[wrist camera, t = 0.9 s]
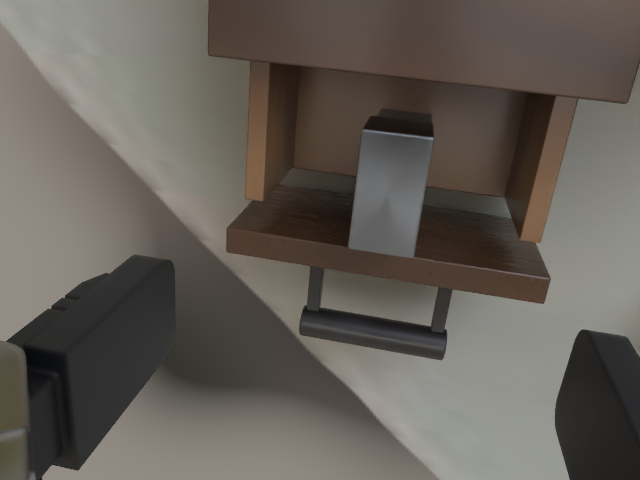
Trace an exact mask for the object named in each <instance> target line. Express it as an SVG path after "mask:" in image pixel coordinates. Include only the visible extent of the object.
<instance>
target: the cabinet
mask: <svg viewBox="0 0 640 480" xmlns="http://www.w3.org/2000/svg"><path fill="white" fill-rule="evenodd" d="M208 55H209V56H214V57H223V58H231V59H240V60H249V61H257V62H266V63H275V64H283V65H292V66H301V67H309V68H318V69H327V70H335V71H344V72H353V73H361V74H370V75H379V76H387V77H396V78H405V79H413V80H422V81H431V82H439V83H448V84H457V85H465V86H474V87H483V88H491V89H500V90H509V91H517V92H526V93H535V94H543V95H552V96H561V97H569V98H578V99H587V100H595V101H604V102H613V103H621V104H626V103H628V101H629V97H630V94H631V91H632V87H633V84H634V81H635V77H636V74H637V70H638V67H639V64H640V0H209V14H208Z"/></svg>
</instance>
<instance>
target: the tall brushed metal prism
mask: <svg viewBox="0 0 640 480" xmlns="http://www.w3.org/2000/svg"><path fill="white" fill-rule="evenodd" d="M433 144H434V124H432V115H431V114H424V113H416V112H408V111H400V110H391V109H383V108H382V109H381V110H380V112H379V114H378V116H370V117H369V119H368V120H367V122H366V124H365V125H364V127H363V129H362V131H361V139H360V148H359V156H358V165H357V173H356V181H355V190H354V198H353V206H352V215H351V223H350V232H349V240H348V248H349V249H355V250H361V251H367V252H374V253H380V254H386V255H393V256H399V257H405V258H414V255H415V250H416V244H417V238H418V232H419V226H420V220H421V214H422V208H423V203H424V197H425V191H426V185H427V179H428V173H429V167H430V162H431V156H432V150H433Z"/></svg>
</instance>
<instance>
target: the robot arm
mask: <svg viewBox="0 0 640 480" xmlns="http://www.w3.org/2000/svg"><path fill="white" fill-rule="evenodd" d="M175 325H176V323H175V270H174V265H173V263H172V262H171V261H170V260H166V259H160V258H154V257H148V256H142V255H133V256H131V257H130V258H129V259H127V260H126V261H125V262H124V263H123V264H122V265H120V266H119V267H118V268H116V269H115V270H114V271H113V272H112V273H110V274H108V273H105V274H102V275H100V276H97V277H95V278H92V279H90V280H87V281H85V282H82V283H81V284H79V285H78V286H77V287H76V288H74V289H73V290H72V291H70V292H69V293H68V294H67V295H65V298H61V299H60V300H59V301H57V302H56V303H55V304H54V305H52V308H51V309H47V310H46V311H44V312H43V313H42V314H41V315H39V316H38V317H37V318H35V319H34V320H33V321H32V322H30V323H29V324H28V325H26V326H25V327H24V328H22V329H21V330H20V331H19V332H17V333H16V334H15V335H13V336H12V337H11V338H10V339H8V340H7V341H6V342H4V341H0V480H42V476H43V475H44V473H45V472H46V471H47V470H48V469H49V467H50V466H51V465H56V466H60V467H64V468H69V469H74V470H79V469H80V467H81V466H82V465H83V464H84V462H85V461H86V460H87V458H88V457H89V456H90V455H91V453H92V452H93V451H94V449H95V448H96V447H97V446H98V444H99V443H100V442H101V440H102V439H103V438H104V436H105V435H106V434H107V433H108V431H109V430H110V429H111V427H112V426H113V425H114V424H115V422H116V421H117V420H118V419H119V417H120V416H121V415H122V413H123V412H124V411H125V410H126V408H127V407H128V406H129V404H130V403H131V402H132V400H133V399H134V398H135V397H136V395H137V394H138V393H139V391H140V390H141V389H142V388H143V386H144V385H145V383H146V382H147V381H148V380H149V379H150V377H151V376H152V375H153V373H154V372H155V371H156V369H157V368H158V367H159V366H160V364H161V363H162V362H163V360H164V359H165V358H166V356H167V355H168V353H169V351H170V349H171V346H172V344H173V340H174V335H175ZM555 427H556V432H557V436H558V439H559V443H560V446H561V450H562V453H563V457H564V460H565V464H566V467H567V471H568V474H569V478H570V480H640V358H639V356H638V354H637V353H636V351H635V349H634V348H633V346H632V344H631V343H630V341H629V339H628V338H627V337H625V336H620V335H614V334H608V333H602V332H596V331H590V330H581V331H580V332H579V333H578V335H577V337H576V339H575V342H574V345H573V348H572V352H571V355H570V358H569V361H568V365H567V368H566V371H565V374H564V378H563V381H562V384H561V387H560V391H559V394H558V397H557V402H556V408H555Z"/></svg>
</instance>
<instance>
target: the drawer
mask: <svg viewBox="0 0 640 480" xmlns="http://www.w3.org/2000/svg"><path fill="white" fill-rule="evenodd" d="M577 102H578V98H569V97H561V96H552V95H543V94H535V93H526V92H517V91H509V90H500V89H491V88H483V87H474V86H465V85H457V84H448V83H439V82H431V81H422V80H413V79H405V78H396V77H387V76H379V75H370V74H361V73H353V72H344V71H335V70H327V69H318V68H309V67H301V66H292V65H283V64H275V63H266V62H257V61H251V64H250V89H249V114H248V138H247V163H246V188H245V199H249V200H253V201H252V202H251V203H250V204H249V205H248V206H247V207H246V208H245V209H244V210H243V211H242V212H241V213H240V214H239V216H238V217H237V218H236V219H235V220H234V221H233V222H232V223H231V224H230V225H229V226H228V227H227V242H226V251H227V252H228V253H234V254H240V255H247V256H253V257H259V258H265V259H271V260H277V261H283V262H289V263H296V264H302V265H308V266H311V267H310V278H309V289H308V300H307V305H305V306H304V308H303V311H302V314H301V319H300V327H299V332H300V335H303V336H309V337H314V338H320V339H325V340H331V341H337V342H342V343H348V344H353V345H359V346H364V347H370V348H375V349H381V350H386V351H392V352H397V353H403V354H409V355H414V356H420V357H425V358H431V359H436V360H443V358H444V355H445V350H446V344H447V330H446V329H444V328H445V323H446V318H447V313H448V308H449V304H450V299H451V294H452V289H455V290H461V291H467V292H473V293H479V294H485V295H492V296H498V297H504V298H510V299H516V300H522V301H528V302H534V303H541V304H543V303H544V302H545V298H546V295H547V291H548V288H549V284H550V280H551V278H550V276H549V273H548V271H547V269H546V266H545V264H544V262H543V259H542V257H541V254H540V252H539V250H538V247H537V245H536V243H540V242H541V239H542V235H543V231H544V227H545V223H546V220H547V216H548V212H549V208H550V204H551V201H552V197H553V193H554V189H555V185H556V182H557V178H558V174H559V170H560V166H561V163H562V159H563V155H564V151H565V147H566V144H567V140H568V136H569V132H570V128H571V125H572V121H573V117H574V113H575V109H576V106H577ZM382 108H383V109H391V110H400V111H408V112H416V113H424V114H431V115H432V124H434V144H433V150H432V156H431V162H430V167H429V173H428V179H427V185H426V187H433V188H440V189H447V190H454V191H462V192H469V193H476V194H483V195H490V196H497V197H504V198H505V200H506V203H507V206H508V209H509V211H510V214H511V217H512V218H506V217H499V216H493V215H486V214H479V213H472V212H465V211H458V210H451V209H444V208H437V207H430V206H423V208H422V214H421V220H420V226H419V232H418V238H417V244H416V250H415V255H414V258H405V257H399V256H393V255H386V254H380V253H374V252H367V251H361V250H355V249H349V248H348V240H349V232H350V223H351V215H352V206H353V198H354V195H347V194H341V193H334V192H327V191H320V190H313V189H306V188H299V187H292V186H285V185H278V184H279V183H280V182H281V181H282V179H283V178H284V177H285V176H286V175H287V174H288V173H289V172H290V170H291V169H292V168H297V169H305V170H312V171H319V172H326V173H333V174H340V175H347V176H355V177H356V173H357V165H358V156H359V148H360V139H361V131H362V129H363V127H364V125H365V124H366V122H367V120H368V119H369V117H370V116H378V114H379V112H380V110H381V109H382ZM535 242H536V243H535ZM324 268H326V269H332V270H338V271H345V272H351V273H357V274H363V275H369V276H375V277H381V278H387V279H394V280H400V281H406V282H412V283H418V284H424V285H430V286H436V287H438V291H437V296H436V301H435V306H434V312H433V317H432V322H431V326H425V325H419V324H413V323H408V322H402V321H396V320H390V319H385V318H379V317H373V316H367V315H361V314H356V313H350V312H344V311H338V310H332V309H327V308H321V307H320V306H321V296H322V286H323V277H324Z"/></svg>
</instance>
